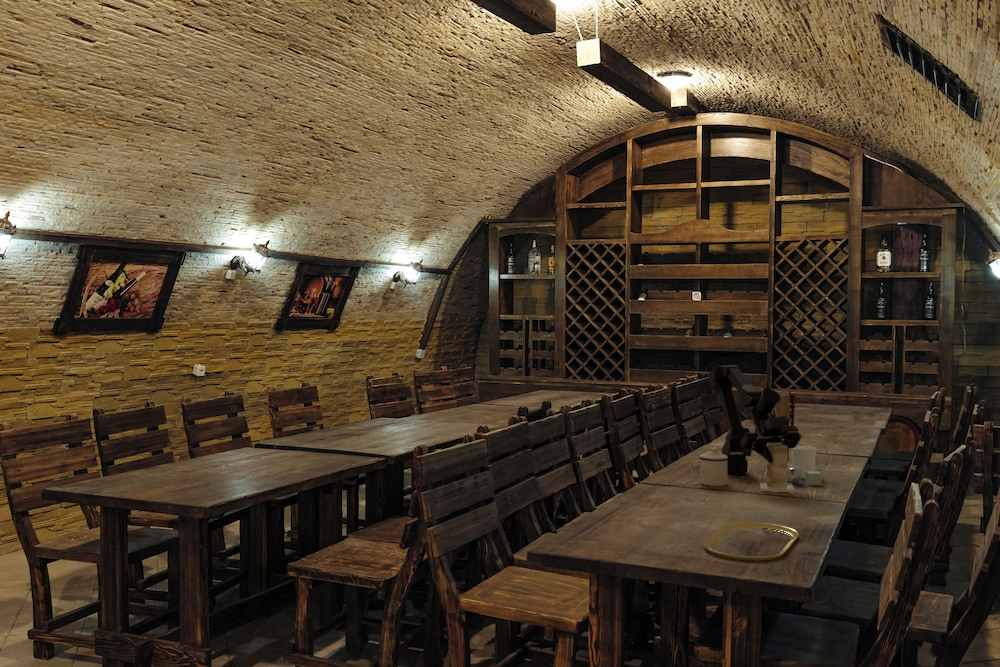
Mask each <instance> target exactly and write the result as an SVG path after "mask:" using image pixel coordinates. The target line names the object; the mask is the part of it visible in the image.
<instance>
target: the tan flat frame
mask: <svg viewBox="0 0 1000 667" xmlns="http://www.w3.org/2000/svg"><path fill="white" fill-rule="evenodd" d="M761 528H768V529H767V530H770V529H776V530H780V531H784V532H786V533H788V534H790V535H791V536H792V537H793V539H792V537H791V536H790V535H789V536H790V537H791V539H790V540H789V542H788V543H787V544H786V545H785V547H784V548H783V549H782V550H781V551H780V552H779V553H778V554H774V555H764V556H759V555H758V556H752V555H751V556H747V555H746V556H745V555H737V554H730V553H726V552H720V551H718V550H714V549H712V548H711V547H712V546H714V545H715V544H716V543H717V542H718V541H719V540H721V539H722V538H723V537H725V536H726V535H727V534H728V533H729V532H731V531H734V530H740V529H761ZM776 530H775V531H776ZM780 531H779V532H780ZM786 533H785V534H786ZM788 534H787V535H788ZM799 536H800V535H799V532H798V531H797V530H795V529H794V528H791V527H788V526H785V525H780V524H774V523H770V522H769V523H768V522H756V521H753V522H752V521H744V522H743V521H742V522H731V523H728V524H725V525H723V526H721V527H720V528H719V529H718V530H717V531H715V532H714V533H713V534H711V536H709V537H708V538H707V539H705V541H703V546H704V548H705V549H706V550H707V551H708V552H709V553H711V554H712V555H716V556H719V557H722V558H725V559H731V560H738V561H746V562H747V561H749V562H750V561H753V562H755V561H756V562H761V561H771V560H776V559H779V558H780V557H782V556H783V555H784V554H785V553H786V552H787V550H788V549H790V547H791V546H792V545H793V544H794V542H795V541H796V540H797V539H798V538H799Z"/></svg>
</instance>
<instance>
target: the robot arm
mask: <svg viewBox="0 0 1000 667" xmlns="http://www.w3.org/2000/svg"><path fill="white" fill-rule="evenodd" d="M707 379H708V381H709V384H710V386H711V388H712V389H713V391H714V392H715V393H716V394H718V398H719V401H720V405H721V410H722V412H723V413H722V414H723V415H724V421H725V423H726V426H727V427H726V428H727V433H726V436H725V442H724V444H723V445H722V448H721V453H722V454H723V455H726V456H727V457H728V460H727V475H735V476H736V475H737V476H740V475H741V476H746V475H747V473H748V469H749V468H748V467H749V466H748V465H749V464H748V462H749V461H748V459H747V457H751V456H752V452H755V453H757V454H758V455H759V456H761V457H763V458H764V459H765V460H766V462H767V461H768V462H770V463H772V462H773V461H772V457H771V455H770V452H769V450H768V444H781V445H784V446H788V462H789V454H790V453H789V449H791V448H795V447H796V446H798V444H799V443H800V441H801V440H802V435H801V433H800V432H799V431H798V432H787V433H786V432H785V434H784V436H782V435H781V436H780V435H779V434H781V433H782V432H781V429H782V428H785V427H786V426H788V425H790V423H789V419H788V418H787V416H781V417H771V416H770V413H772V412H773V411H774V410H775V411H776V406H777V404H778V403H779V401H780V395H779V394H778V392H777V391H776V390H775V389H772V388H771V386H769V387H768V386H767V387H766V386H765V387H763V390H762V389H761V388H760V387H757V386H754V385H753V384H752V383H751V382H750V381H749V379H748V378H747V377H746V375H745V374H743V372H742V371H741V369H740V366H738V365H725V366H723V367H718V368H715V369H714V368H713V369H712V370H711V371H710V372H709V373H708V376H707ZM733 388H735V389H736V391H737V392H738V393H739V395H740V397H739V401H740V402H741V405H742V406H743V407H744V408H745V409H750V410H751V411H750V412H749V415H748V420H752V422H753V423H754V427H755V428H754V432H753V431H752V432H750V428H748V427H744V426H743V424H742V421H741V418H740V414H739V411H738V407H737V404H736V400H735V396H734V393H733ZM774 390H775V391H774ZM772 414H773V413H772Z"/></svg>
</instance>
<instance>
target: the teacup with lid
mask: <svg viewBox="0 0 1000 667" xmlns="http://www.w3.org/2000/svg"><path fill="white" fill-rule="evenodd" d="M727 460H728V457H727V456H726V455H723V454H722V452H720V451H718V448H716V447H710V450H709V451H706V452H705V453H702V454H700V456H699V460H698V459H697V460H693V461H692V462H691V463H690V471H691V472H692V474H693V475H694V476H697V477H699V483H700V485H703V484H704V485H703V486H707V485H709V486H708V487H724V485H725V486H726V485H728V474H727ZM695 463H697V464H700V465H699V473H698V472H696V471H695V469H694V464H695Z"/></svg>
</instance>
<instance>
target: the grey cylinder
mask: <svg viewBox="0 0 1000 667" xmlns="http://www.w3.org/2000/svg"><path fill="white" fill-rule="evenodd" d="M787 483H792V484H799V483H801V484H802V478H801V468H798V467H792V466H789V467H788V466H787ZM792 484H791V485H792Z"/></svg>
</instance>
